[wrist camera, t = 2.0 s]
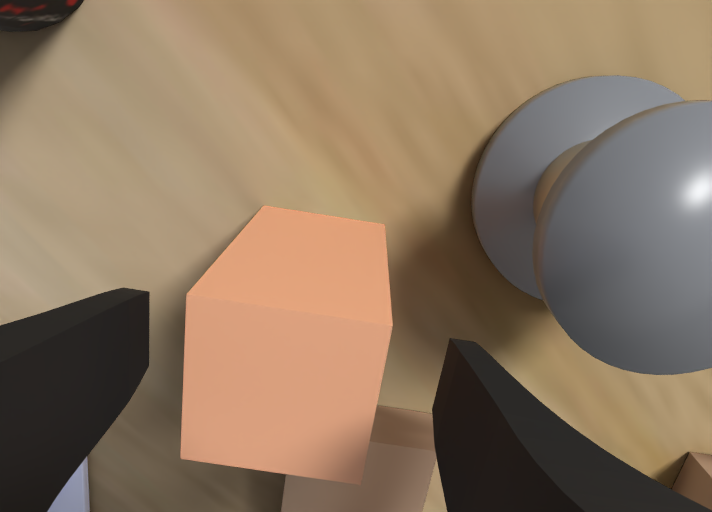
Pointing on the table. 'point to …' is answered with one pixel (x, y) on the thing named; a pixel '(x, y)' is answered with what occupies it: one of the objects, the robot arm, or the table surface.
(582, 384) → the table surface
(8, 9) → the deodorant
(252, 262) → the block
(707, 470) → the notched board
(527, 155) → the bobbin
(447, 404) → the robot arm
